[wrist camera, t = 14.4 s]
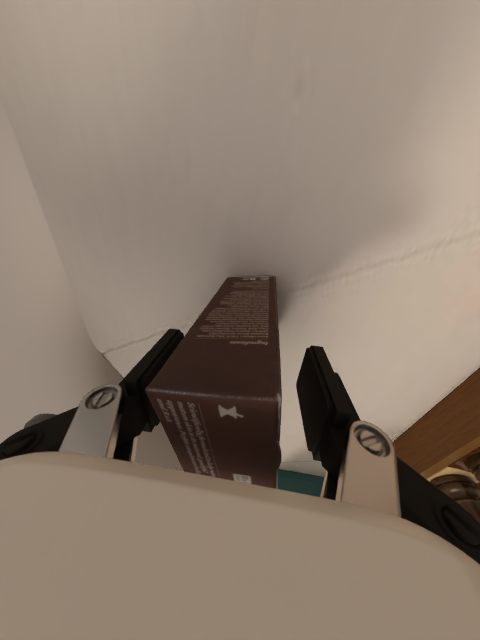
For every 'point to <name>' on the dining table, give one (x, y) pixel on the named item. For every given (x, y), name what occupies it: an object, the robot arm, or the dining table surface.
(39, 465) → the robot arm
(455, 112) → the dining table surface
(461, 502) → the chess set
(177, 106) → the dining table surface
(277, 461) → the box
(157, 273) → the dining table surface
